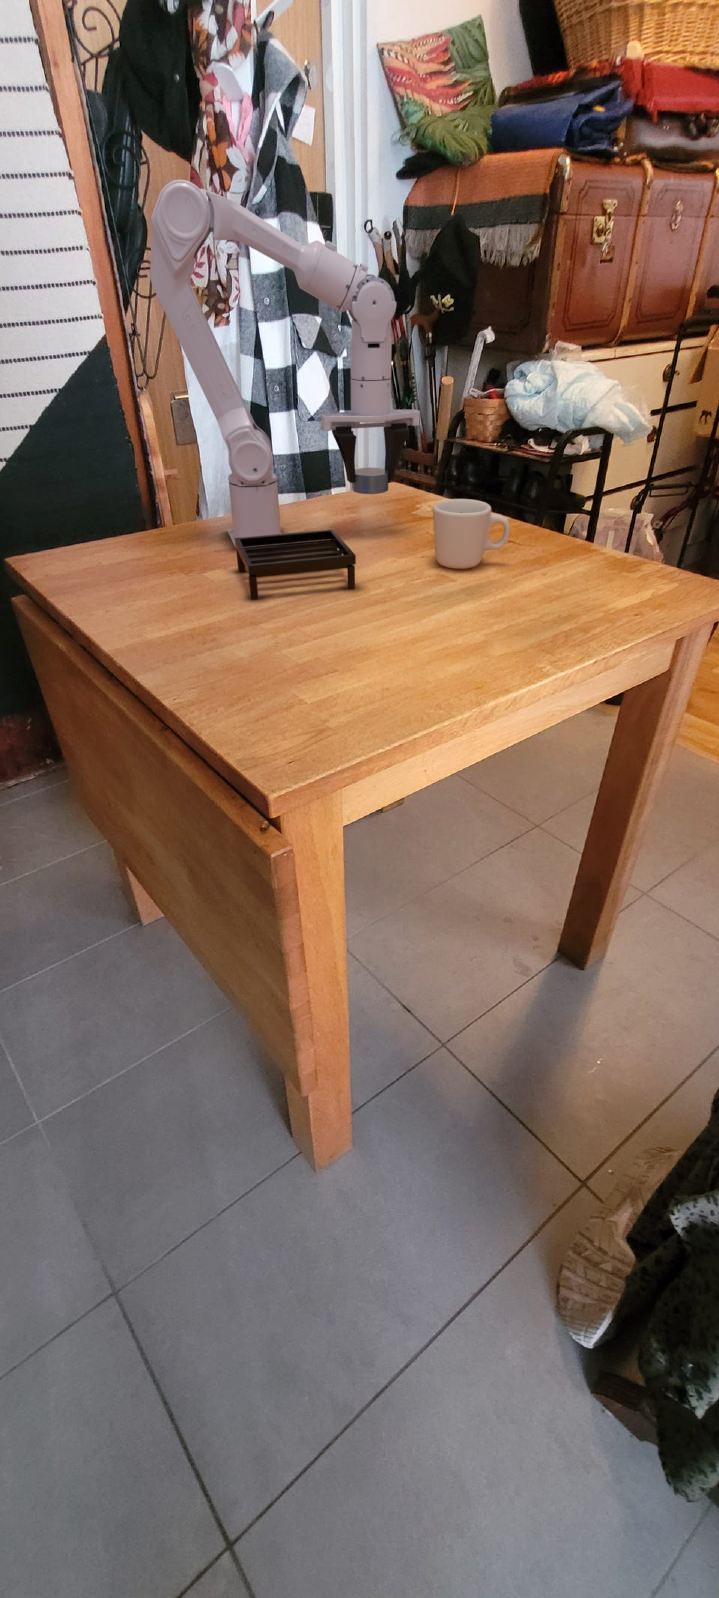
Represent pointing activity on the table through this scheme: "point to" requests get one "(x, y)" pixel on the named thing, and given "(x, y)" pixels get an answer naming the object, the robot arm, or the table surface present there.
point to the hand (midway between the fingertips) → (370, 479)
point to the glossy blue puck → (370, 481)
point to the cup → (465, 532)
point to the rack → (293, 555)
